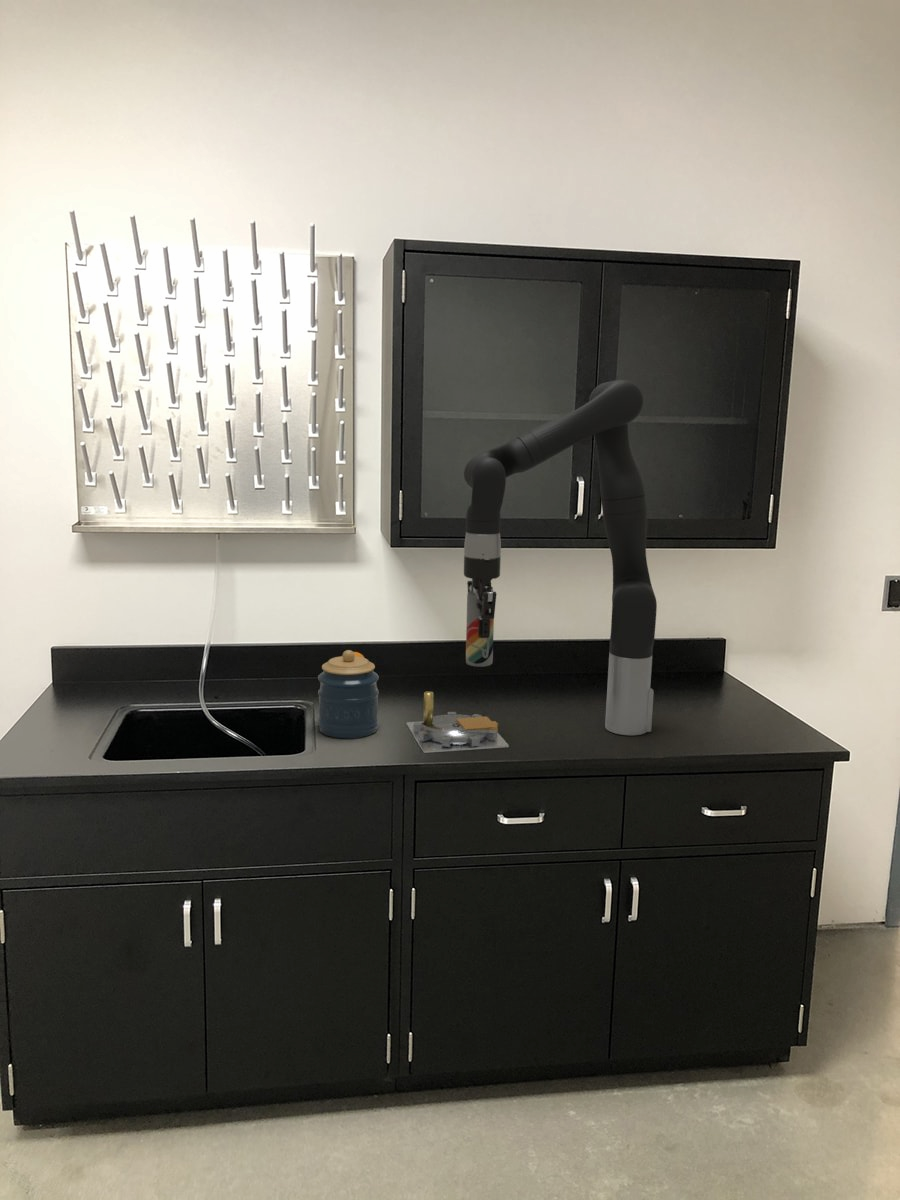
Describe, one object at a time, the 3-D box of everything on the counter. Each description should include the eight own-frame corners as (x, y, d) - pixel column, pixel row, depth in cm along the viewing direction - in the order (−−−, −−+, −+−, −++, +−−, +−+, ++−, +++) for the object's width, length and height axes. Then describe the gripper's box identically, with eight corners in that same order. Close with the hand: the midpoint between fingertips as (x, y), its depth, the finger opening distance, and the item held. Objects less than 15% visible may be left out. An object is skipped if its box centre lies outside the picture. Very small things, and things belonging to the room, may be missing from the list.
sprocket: (418, 716, 210) (418, 680, 208) (498, 720, 209) (499, 683, 207) (408, 745, 192) (409, 705, 190) (496, 749, 191) (497, 709, 189)
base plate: (484, 719, 211) (484, 717, 211) (508, 747, 194) (508, 745, 194) (406, 724, 207) (406, 722, 207) (423, 752, 190) (423, 751, 190)
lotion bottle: (475, 668, 194) (478, 572, 190) (460, 662, 199) (462, 568, 195) (498, 664, 197) (500, 570, 193) (482, 658, 202) (484, 567, 198)
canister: (310, 737, 198) (310, 656, 194) (327, 717, 210) (327, 641, 207) (371, 741, 196) (371, 660, 192) (384, 721, 208) (384, 644, 205)
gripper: (456, 549, 199) (454, 627, 203) (474, 560, 185) (471, 643, 189) (490, 548, 201) (487, 625, 204) (510, 559, 187) (507, 641, 191)
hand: (480, 633), depth 197 cm, fingers closed on lotion bottle, 5 cm apart
